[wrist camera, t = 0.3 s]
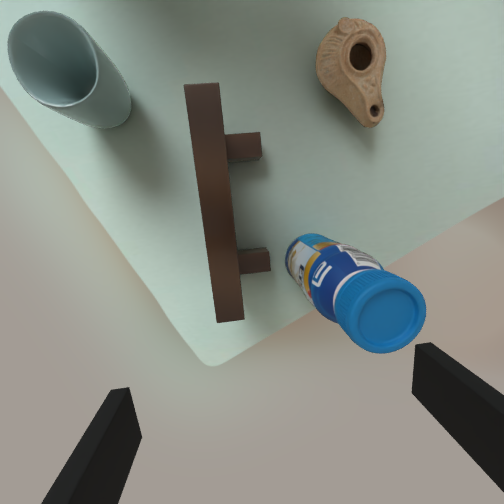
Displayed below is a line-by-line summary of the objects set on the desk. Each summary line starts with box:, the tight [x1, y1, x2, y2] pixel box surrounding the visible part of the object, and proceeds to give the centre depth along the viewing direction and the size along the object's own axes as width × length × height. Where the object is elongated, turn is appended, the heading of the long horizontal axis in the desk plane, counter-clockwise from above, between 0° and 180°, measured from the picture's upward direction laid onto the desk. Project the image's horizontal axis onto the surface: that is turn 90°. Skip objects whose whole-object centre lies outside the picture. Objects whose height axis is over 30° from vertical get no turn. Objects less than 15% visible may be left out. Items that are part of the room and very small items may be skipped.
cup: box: [8, 11, 132, 128], centre depth 26 cm, size 8×8×10 cm
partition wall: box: [184, 82, 271, 323], centre depth 29 cm, size 23×8×13 cm, turn 5°
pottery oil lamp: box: [316, 17, 386, 128], centre depth 30 cm, size 9×12×7 cm
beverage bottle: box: [285, 233, 426, 353], centre depth 29 cm, size 8×8×20 cm
